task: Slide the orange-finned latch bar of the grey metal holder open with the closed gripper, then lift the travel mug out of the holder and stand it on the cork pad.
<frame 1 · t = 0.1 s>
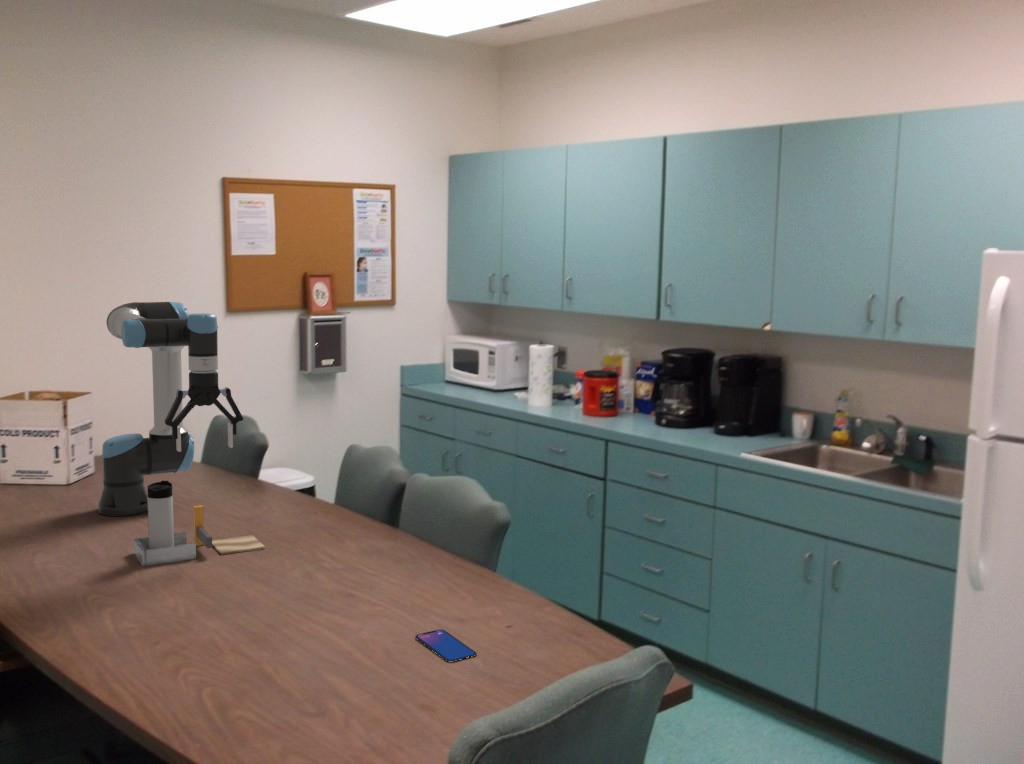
hand: (205, 448, 256), 28 cm above the table, fingers open, 13 cm apart
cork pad: (237, 545, 262), on the table
travel mug: (162, 557, 252), resting in holder
smartphone: (445, 648, 199), on the table
holder: (162, 556, 252), on the table
latch bar: (203, 530, 257), point 5 cm above the table, slide at 0.0 cm
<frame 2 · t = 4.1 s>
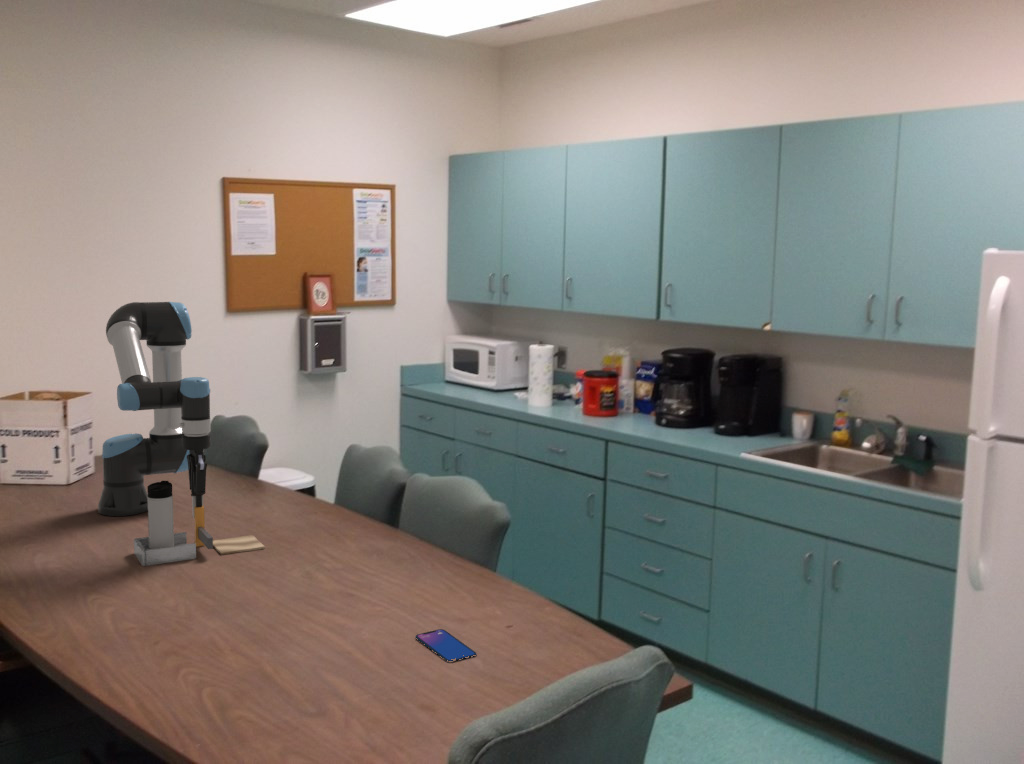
hand: (198, 517, 262), 8 cm above the table, fingers closed
latch bar: (204, 531, 256), point 5 cm above the table, slide at 0.8 cm, touching gripper
everything else where it was.
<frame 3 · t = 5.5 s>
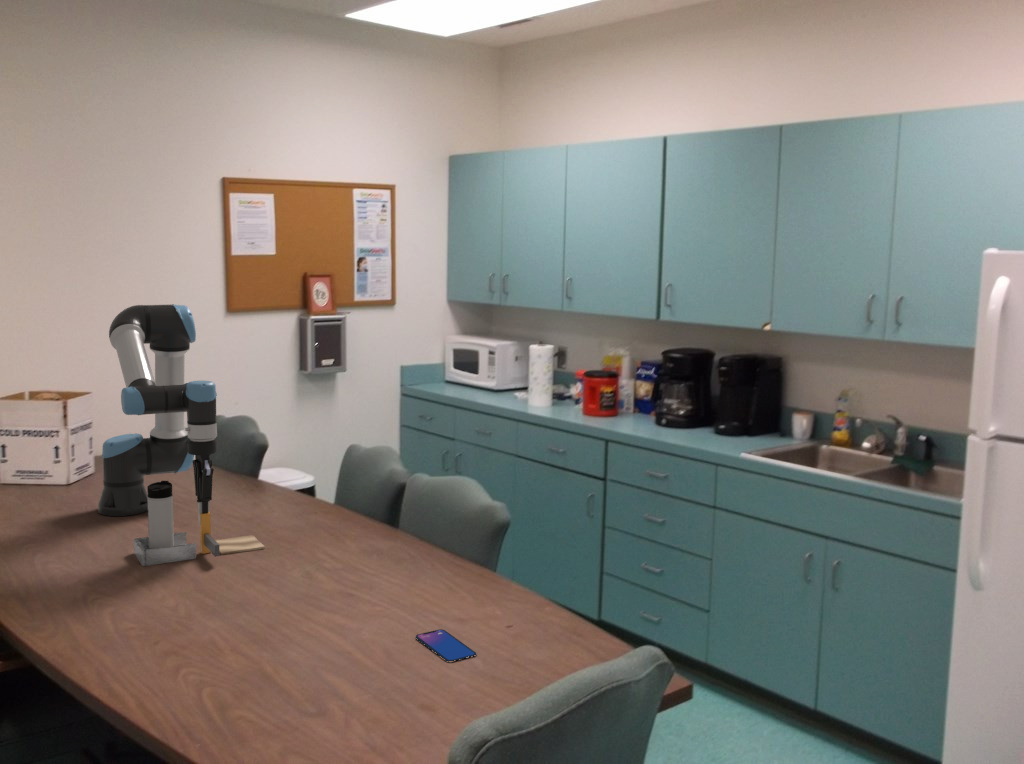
hand: (204, 523, 256), 8 cm above the table, fingers closed
latch bar: (210, 538, 250), point 5 cm above the table, slide at 7.6 cm, touching gripper
everything else where it was.
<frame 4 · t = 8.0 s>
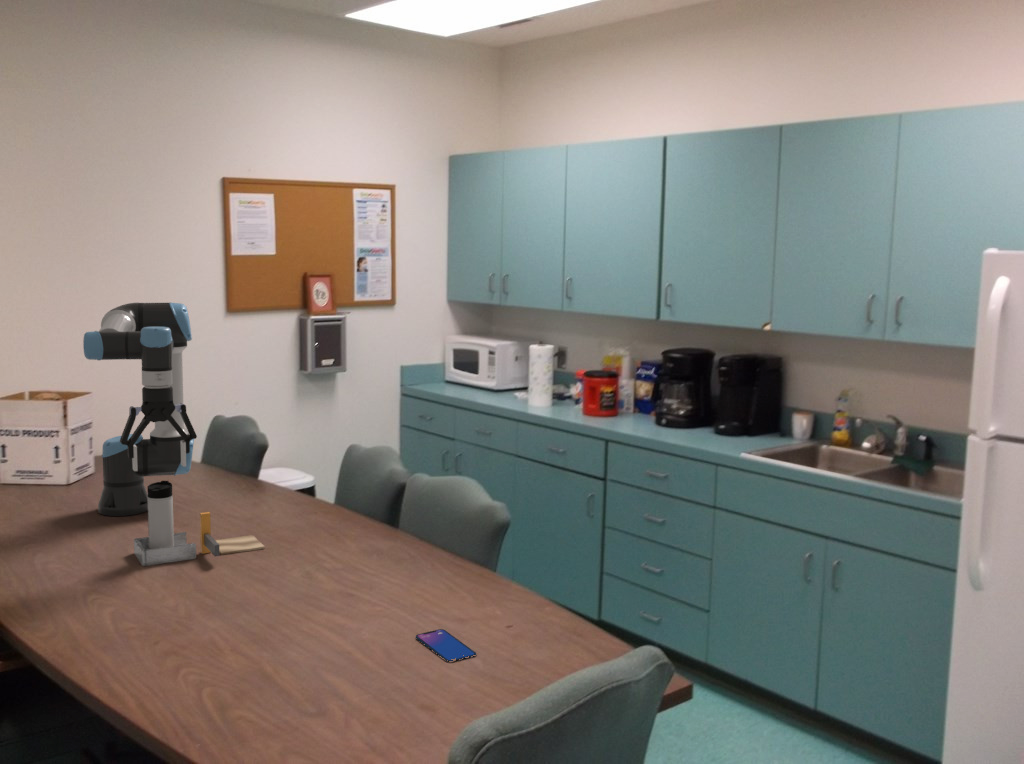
hand: (159, 467, 248), 24 cm above the table, fingers open, 11 cm apart
latch bar: (210, 538, 250), point 5 cm above the table, slide at 7.5 cm
everything else where it was.
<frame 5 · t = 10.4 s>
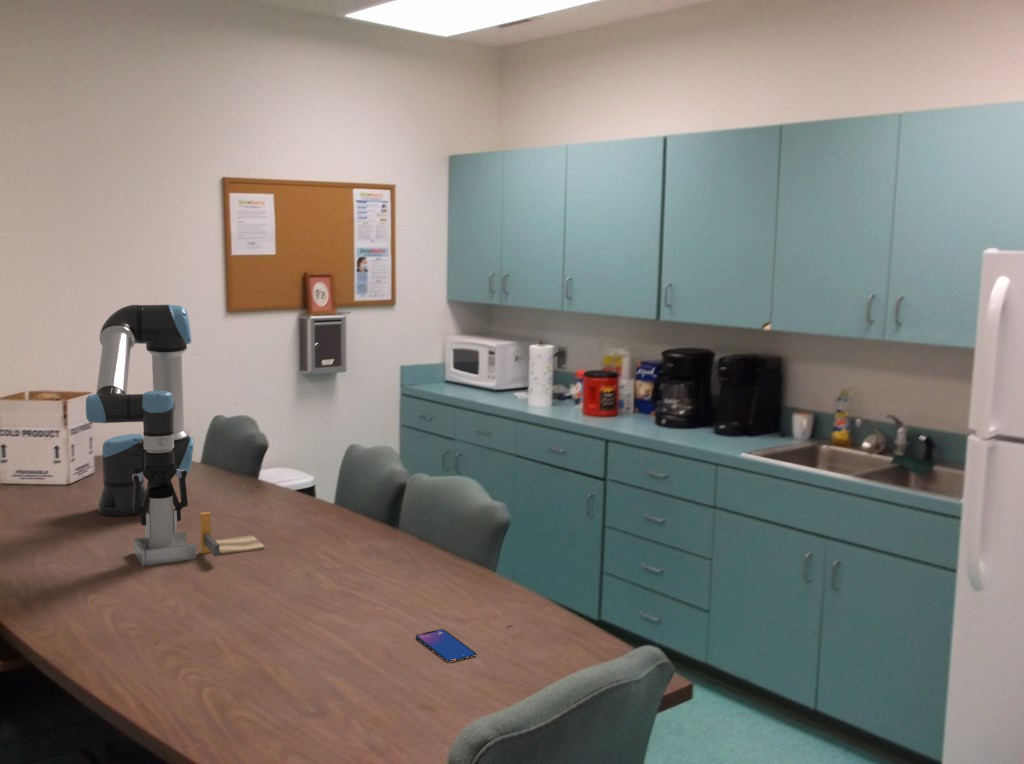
hand: (161, 534, 251), 6 cm above the table, fingers closed on travel mug, 6 cm apart
travel mug: (162, 556, 252), resting in holder, touching gripper
everything else where it was.
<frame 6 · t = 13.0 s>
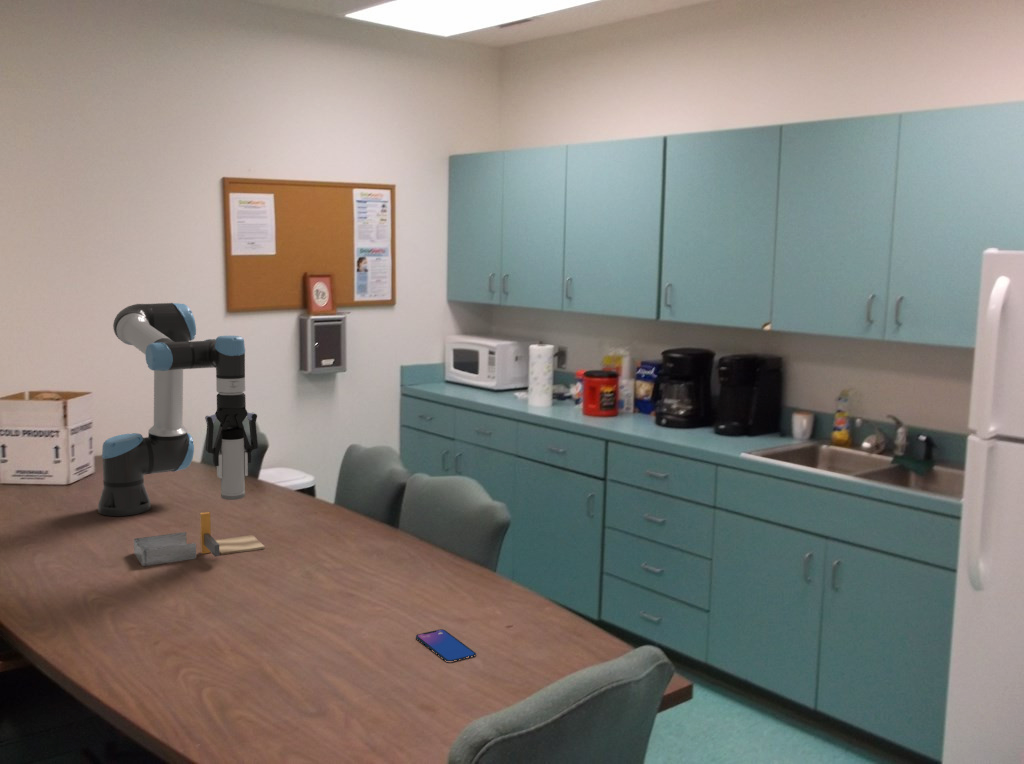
hand: (232, 475, 259), 20 cm above the table, fingers closed on travel mug, 6 cm apart
travel mug: (233, 497, 260), point 14 cm above the table, touching gripper
everything else where it was.
when the fingers open (8 cm above the table, at t = 15.7 s): travel mug drops 1 cm, resting on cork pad.
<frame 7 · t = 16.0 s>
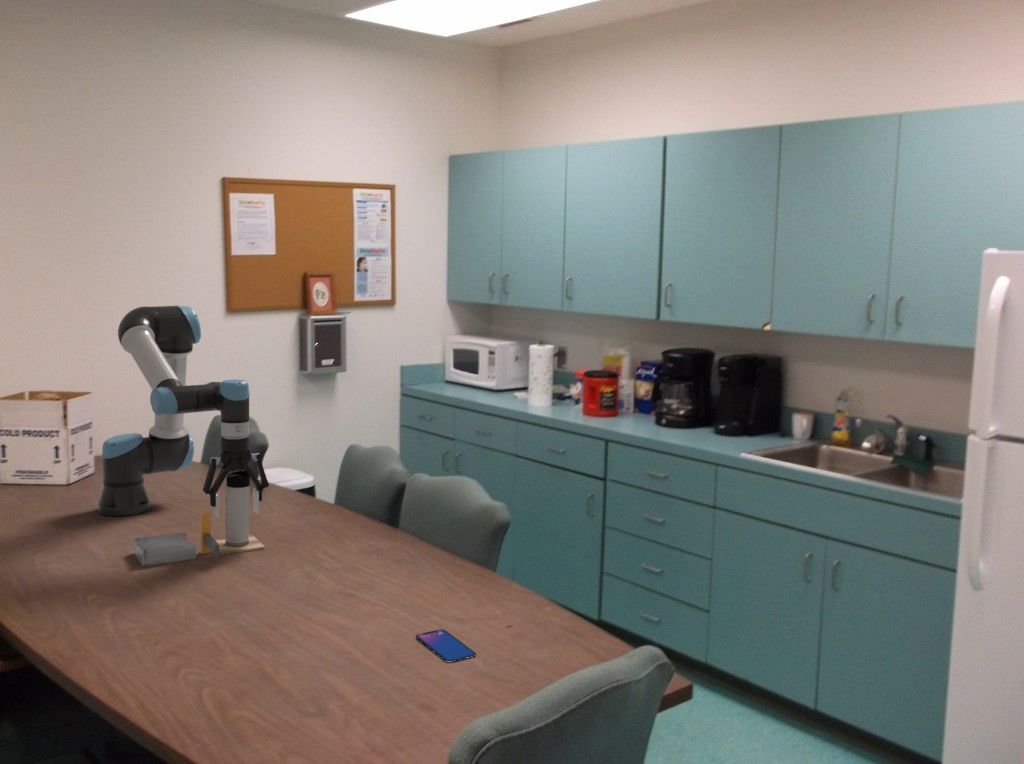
hand: (236, 515, 261), 9 cm above the table, fingers open, 10 cm apart
travel mug: (237, 543, 262), point 1 cm above the table, touching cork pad
everything else where it was.
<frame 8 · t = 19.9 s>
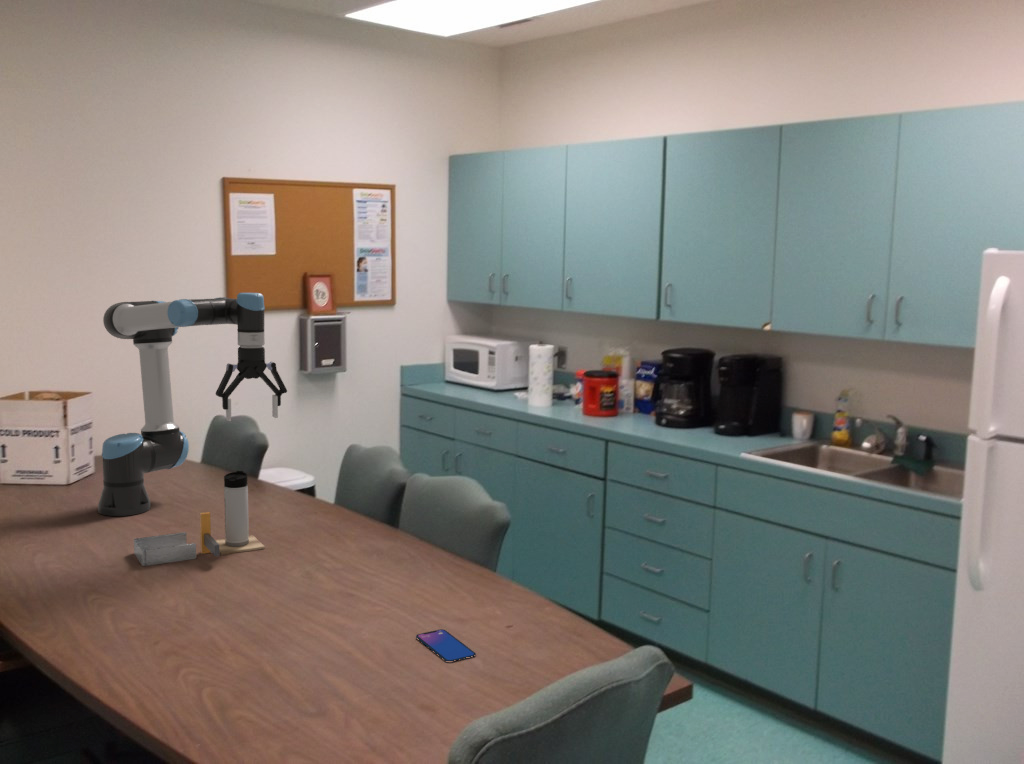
hand: (252, 418, 275), 33 cm above the table, fingers open, 13 cm apart
nothing on the table moved.
at the end: latch bar slide at 7.5 cm; travel mug inside the target area on the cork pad (0.1 cm from its centre), point 0.4 cm above the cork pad's base; travel mug tilted 0° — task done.
